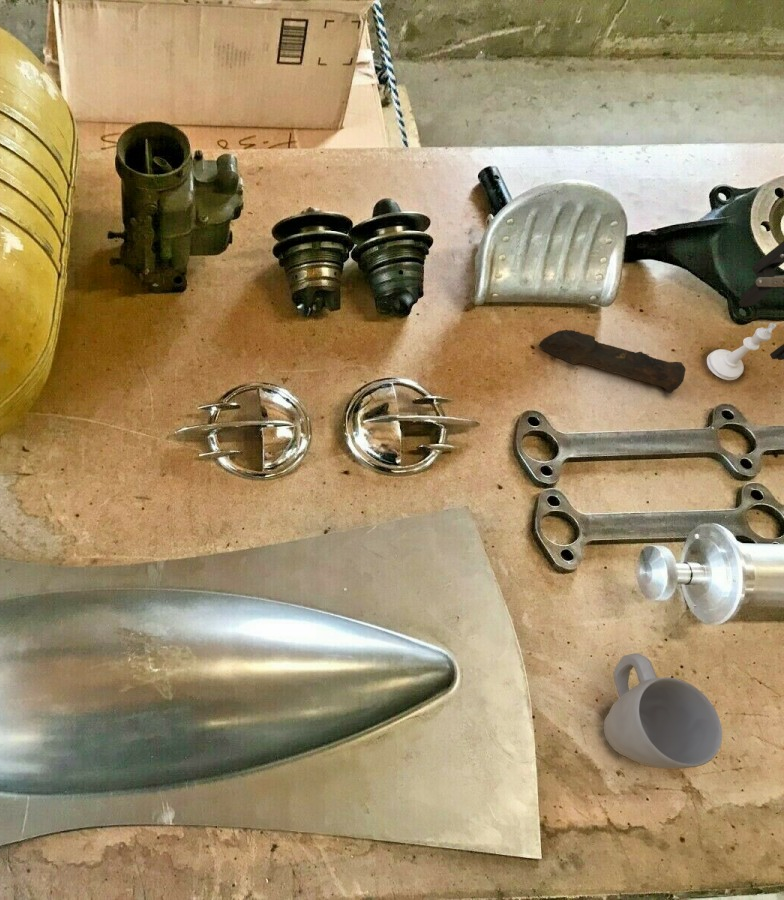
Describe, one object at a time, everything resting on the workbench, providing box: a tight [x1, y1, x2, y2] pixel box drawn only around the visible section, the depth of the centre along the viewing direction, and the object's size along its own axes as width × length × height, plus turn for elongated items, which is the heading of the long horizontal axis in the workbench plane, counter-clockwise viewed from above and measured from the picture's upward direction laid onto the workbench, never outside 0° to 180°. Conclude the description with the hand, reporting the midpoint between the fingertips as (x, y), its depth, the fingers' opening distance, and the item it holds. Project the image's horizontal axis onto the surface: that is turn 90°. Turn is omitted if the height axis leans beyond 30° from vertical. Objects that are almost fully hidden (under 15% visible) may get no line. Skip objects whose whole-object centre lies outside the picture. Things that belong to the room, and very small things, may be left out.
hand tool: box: [538, 329, 687, 394], centre depth 110 cm, size 19×4×5 cm, turn 70°
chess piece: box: [706, 322, 778, 381], centre depth 108 cm, size 5×5×10 cm
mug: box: [603, 652, 723, 770], centre depth 85 cm, size 12×9×10 cm
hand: (760, 330), depth 106 cm, fingers open, 8 cm apart
